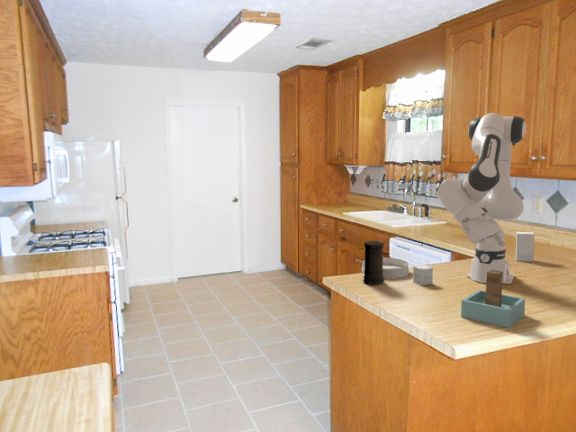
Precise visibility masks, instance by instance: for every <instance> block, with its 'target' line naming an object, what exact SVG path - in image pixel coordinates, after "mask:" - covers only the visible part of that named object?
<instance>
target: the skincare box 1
mask: <svg viewBox="0 0 576 432" xmlns="http://www.w3.org/2000/svg"><path fill="white" fill-rule="evenodd" d="M433 273H434V267H430V266H429V265H426V264H422V265H415V266H413V273H412V276H413V278H412V280H413V281H412V282H413V283H414V284H416V285H419V286H421V287H422V286H428V285H432V284H434V283H433V281H434V280H433V279H434V277H433V276H434V275H433Z"/></svg>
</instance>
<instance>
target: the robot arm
mask: <svg viewBox="0 0 576 432" xmlns="http://www.w3.org/2000/svg"><path fill="white" fill-rule="evenodd" d="M526 133H527V124H526V120H525V118H523V117H521V116H516V115H514V116H508V115H507V116H506V115H501V114H500V113H495V112H489V113H486V114H485V115H483V116H481V117H480V116H479V117H475V118H473V119H472V120H471V121H470V122H469V126H468V129H467V134H468V138H469V139H470V140H471V150H472V152H473V153H474V154H475V155H477V156H478V160H477V161H476V162H475V163H474V164H473V165H472V166H471V168H470V169H469V172H468V173H467V174H466V176H465V178H464V177H463V178H459V179H458V178H457V179H455V178H450V177H446V178H445V179H444V180H442V181H441V183H440V184H439V185H438V186H437V188H436V189H435V195H436V197H437V200H439V202H440V203H441V204H442V206H443V207H444V208H445V209H446V210H447V211H448V212H450V213H451V214H452V216H453V218H454V220H456V222H458V223H459V225H460V226H461V229H462V231H463V232H464V234H465V236H466V237H467V238H468V240H469V241H470V242H471V243H472V244H474V245H476V247H475V251H474V255H475V257H474V258H473V259H471V264H470V265H471V266H470V272H469V273H467V276H466V277H468V278H470V279H471V280H472V281H473V282H477V283H481V284H486V281H487V272H488V271H489V270H497V271H503V281H502V285H503V284H504V285H506V284H507V285H510V284H512V282H513V280H514V278H515V273H512V272H510V263H509V262H508V261H507V259H506V253H507V248H505V245H506V241H505V232H504V230H503V229H502V228H501V226H500V224H498V222H497V221H496V220H497V219H498V220H517V219H518V218H519V217H520V216H521V215H522V214H523V212H524V208H525V205H524V202H523V199H522V198H521V197H520V196H519V195H517V193H516V192H515V191H514V189H513V187H512V183H511V163H512V146H513V147H514V146H515V145H516V144H517V143H520V142H521V141H523V139H524V137H525V135H526ZM490 191H491V192H490Z"/></svg>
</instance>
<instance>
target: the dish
mask: <svg viewBox="0 0 576 432" xmlns="http://www.w3.org/2000/svg"><path fill="white" fill-rule="evenodd" d="M364 270H365V259H364V260H362V262H361V274H363V275H364V274H365V272H364ZM409 271H410V270H409V262H408V261H406V260H403V259H399V258H395V257H383V277H384V278H383V280H384V279H385V280H388V279H389V280H391V279H393V280H394V279H402V278H405V277H408V275H409Z"/></svg>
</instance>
